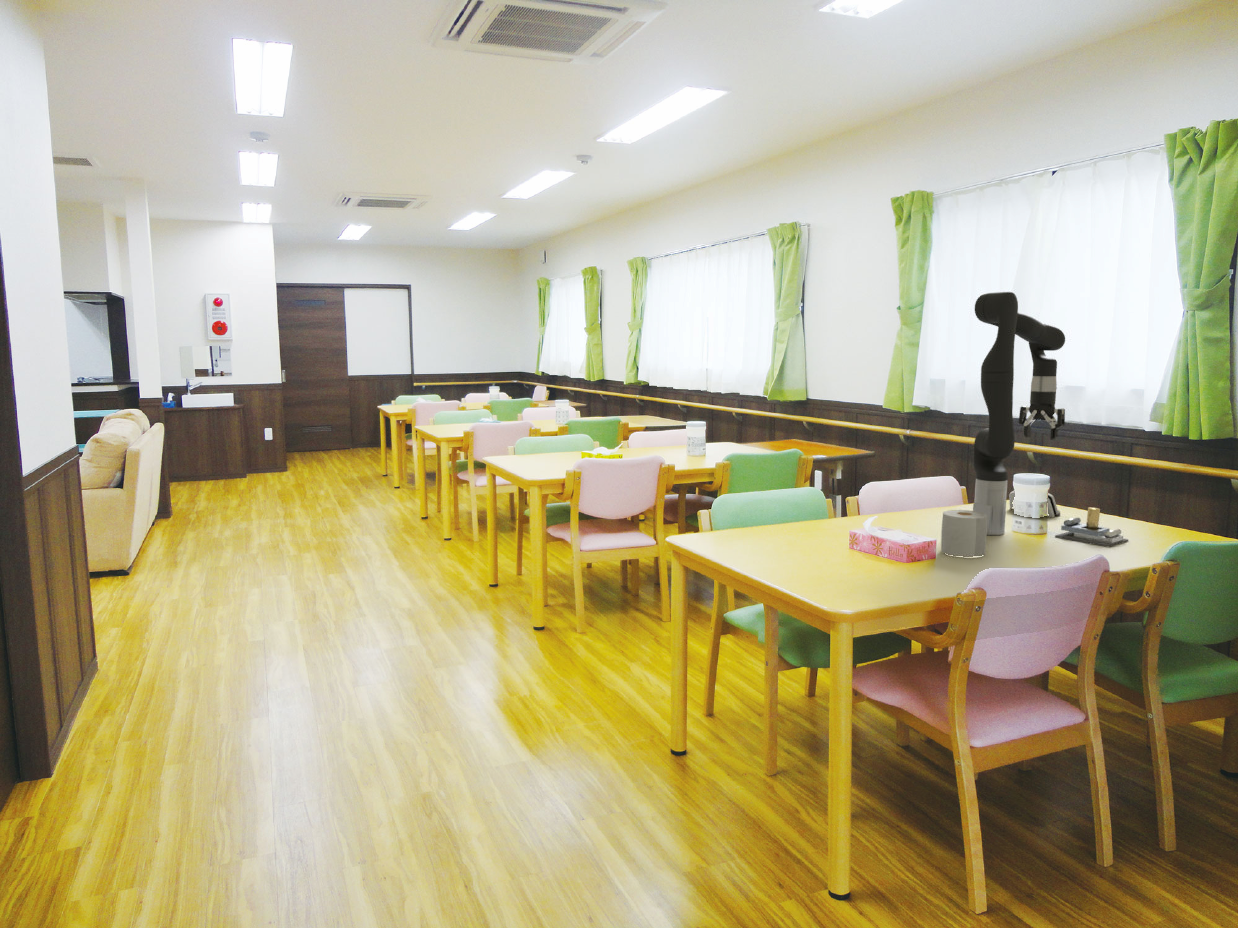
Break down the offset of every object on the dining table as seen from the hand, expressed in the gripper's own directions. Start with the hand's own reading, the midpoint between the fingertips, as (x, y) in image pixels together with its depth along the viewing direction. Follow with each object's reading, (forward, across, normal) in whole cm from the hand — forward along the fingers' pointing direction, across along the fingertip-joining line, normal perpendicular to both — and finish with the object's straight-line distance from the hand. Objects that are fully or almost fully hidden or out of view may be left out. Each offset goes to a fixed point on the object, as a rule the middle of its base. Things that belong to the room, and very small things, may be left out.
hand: (1040, 438), depth 274 cm
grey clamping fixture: (+28, +24, -12) cm, 39 cm away
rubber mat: (+28, +24, -12) cm, 39 cm away
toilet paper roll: (+28, +10, -58) cm, 65 cm away
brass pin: (+28, +24, -12) cm, 38 cm away
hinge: (+28, -7, +12) cm, 32 cm away
